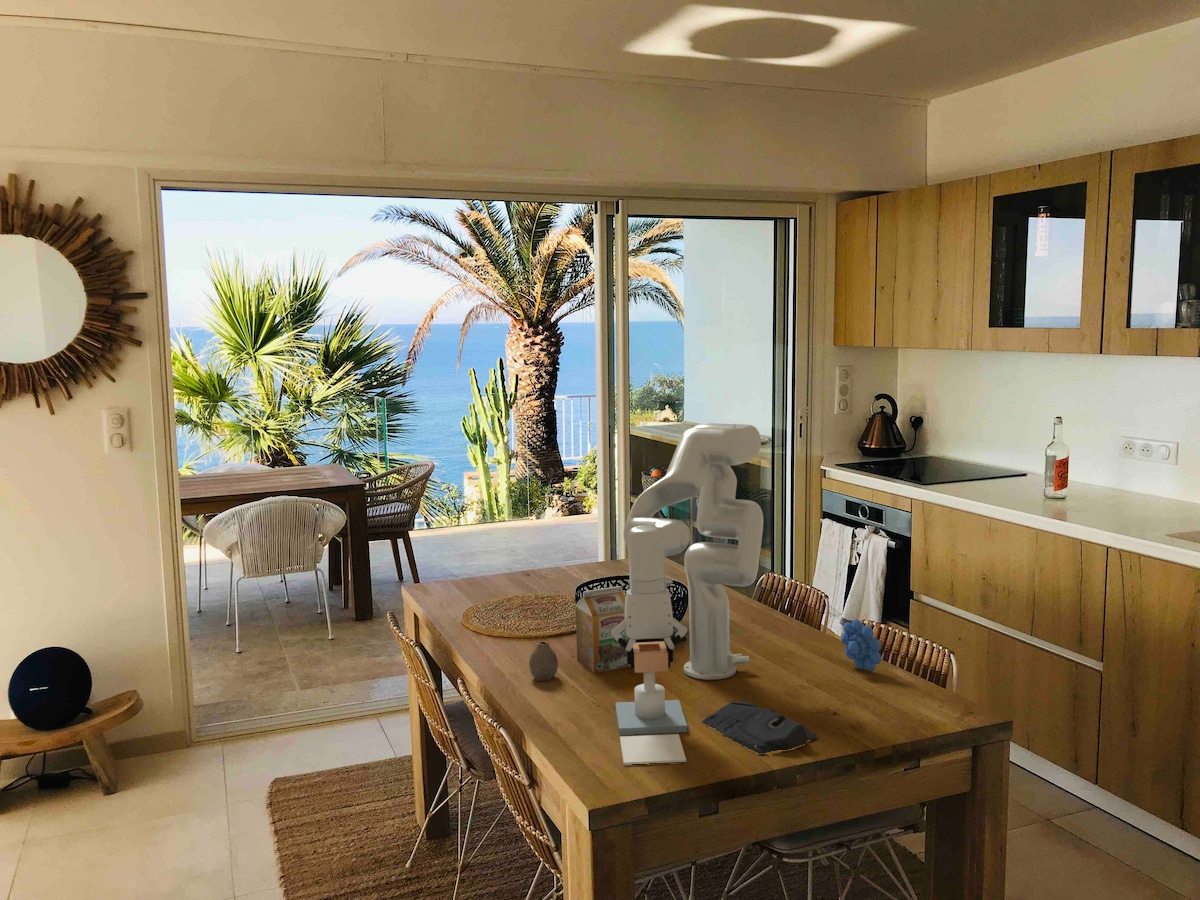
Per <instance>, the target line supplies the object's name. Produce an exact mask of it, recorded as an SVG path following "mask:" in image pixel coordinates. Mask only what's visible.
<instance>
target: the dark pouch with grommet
mask: <svg viewBox="0 0 1200 900" xmlns="http://www.w3.org/2000/svg"><path fill="white" fill-rule="evenodd" d="M703 723H704V724H706V725H707V726H708V725H709V726H710V727H712V728H715V729H716V731H719V732H720V733H722V734H723V735H724V736H725V737H728V738H730V739H732V740H733V741H735V742H737V743H739V744H741V745H742V746H745V747H747V748H748V749H751V750H753V751H755V752H757V753H759V754H761V753H767V752H771V751H777V750H788V749H792V748H794V747H797V746H800V745H803V744H806V742H808V741H807V740H811V741H813V740H815V739H817V738H818V736H817V733H815V732H813V731H812V730H811V729H808V728H806V727H805V726H804V725H803V723H798V722H796V721H794V720H793V719H790V718H789V719H787V718H786V717H785V715H782V714H780V713H778V712H776V711H775V710H773V709H770V708H769V707H768V708H767V707H766V708H761V707H759V706H758V705H756V704H754V703H751V702H750V701H746V700H742V701H741V700H740V701H732V702H729V703H727V704H726V705H725V706H723V707H721V708H719V709H718V710H717V711H715V712H714V713H711V714H710V715H709V714H708V715H707V716H706V718H704V719H703V720H702V722H701V724H703ZM704 724H703V725H704ZM724 736H723V737H724ZM725 737H724V738H725ZM812 739H813V740H812ZM735 742H734V743H735ZM806 745H807V744H806ZM742 746H741V747H742Z"/></svg>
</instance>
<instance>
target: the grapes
mask: <svg viewBox="0 0 1200 900" xmlns="http://www.w3.org/2000/svg"><path fill="white" fill-rule="evenodd" d="M842 630H843V632H842V634H841V635H840V641H841V643H842V645H844V646H846V647H845V648H844V654H845V656H846V657H847V658H848V659H849V660H853V664H854V666H855V667H856V668H857V669H859V670H864V669H865V670H867V671H869V672H873V671H874V670H875V669H876V667H877V666H876V665H880V664H881V663H882V660H883V659H882V654H881V653H880V652H879V651H880V650H881V648H882V644H881V641H880V640H878V638H876V637H874V635H875V634H874V630H873V629H872V627H871V626H870V625H866V624H865V625H864V623H863V622H861V620H860V619H855V618H854V619H853V620H852V621H851V622H845V623H844V624H843V626H842Z"/></svg>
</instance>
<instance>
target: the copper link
mask: <svg viewBox="0 0 1200 900" xmlns="http://www.w3.org/2000/svg"><path fill="white" fill-rule="evenodd" d="M633 652H634V669H633V670H634V673H637V674H638V673H644V672H655V673H656V672H668V671H669V668H668V651H667V648H666V642H665V640H664V641H645V642H642V641H641V642H635V643H634V645H633Z"/></svg>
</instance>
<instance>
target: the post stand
mask: <svg viewBox="0 0 1200 900" xmlns="http://www.w3.org/2000/svg"><path fill="white" fill-rule="evenodd" d="M665 692H666V689H665V687H664V685H661V684H659V683H656V672H643V683H641V684H637V685H636V686H635V687H634V701H619V702H618V701H617V702H615V705H614V706H615V714H616V722H617V728H618V735H619V736H638V735H637V734H639V735H659V734H658V733H663V734H680V733H679V732H687V733H688V724H687V721H686V718H685V714H684V711H683V708H682V705H681V702H680V700H679V699H669V700H668V699H666V693H665ZM634 734H636V735H634Z"/></svg>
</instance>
